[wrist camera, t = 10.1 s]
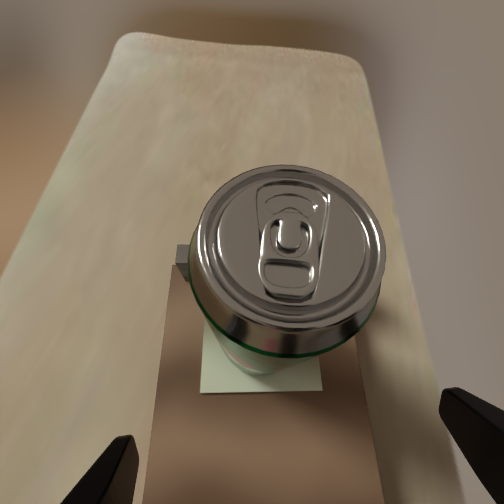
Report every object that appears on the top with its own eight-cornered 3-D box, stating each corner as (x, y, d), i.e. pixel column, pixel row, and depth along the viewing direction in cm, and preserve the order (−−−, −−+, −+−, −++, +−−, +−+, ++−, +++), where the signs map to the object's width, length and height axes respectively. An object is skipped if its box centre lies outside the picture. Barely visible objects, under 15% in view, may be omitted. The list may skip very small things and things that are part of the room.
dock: (379, 563, 14) (444, 646, 9) (144, 572, 14) (96, 664, 9) (333, 274, 21) (357, 244, 17) (178, 275, 21) (160, 244, 16)
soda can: (301, 296, 18) (388, 162, 7) (300, 380, 16) (425, 367, 5) (225, 288, 18) (200, 144, 7) (213, 371, 16) (150, 337, 5)
